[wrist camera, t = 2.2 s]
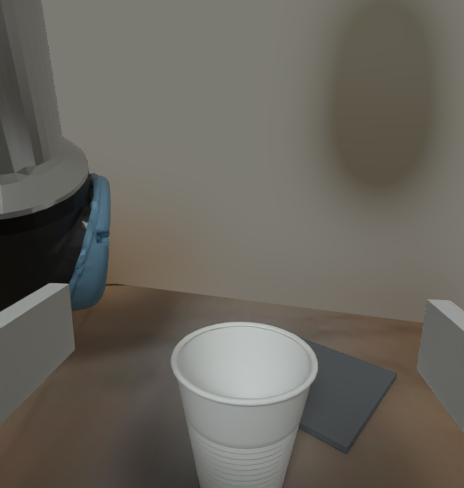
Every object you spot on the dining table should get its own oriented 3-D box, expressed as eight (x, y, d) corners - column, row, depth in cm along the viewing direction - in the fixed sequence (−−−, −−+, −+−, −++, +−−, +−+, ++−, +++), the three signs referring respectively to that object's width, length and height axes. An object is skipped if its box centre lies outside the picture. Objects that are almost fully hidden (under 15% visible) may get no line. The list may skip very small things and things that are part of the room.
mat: (207, 377, 40) (207, 373, 40) (276, 332, 51) (276, 328, 50) (346, 453, 30) (347, 447, 30) (396, 378, 41) (396, 373, 41)
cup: (146, 486, 27) (140, 354, 24) (234, 418, 34) (237, 310, 31) (249, 593, 20) (256, 430, 18) (331, 481, 28) (344, 352, 25)
